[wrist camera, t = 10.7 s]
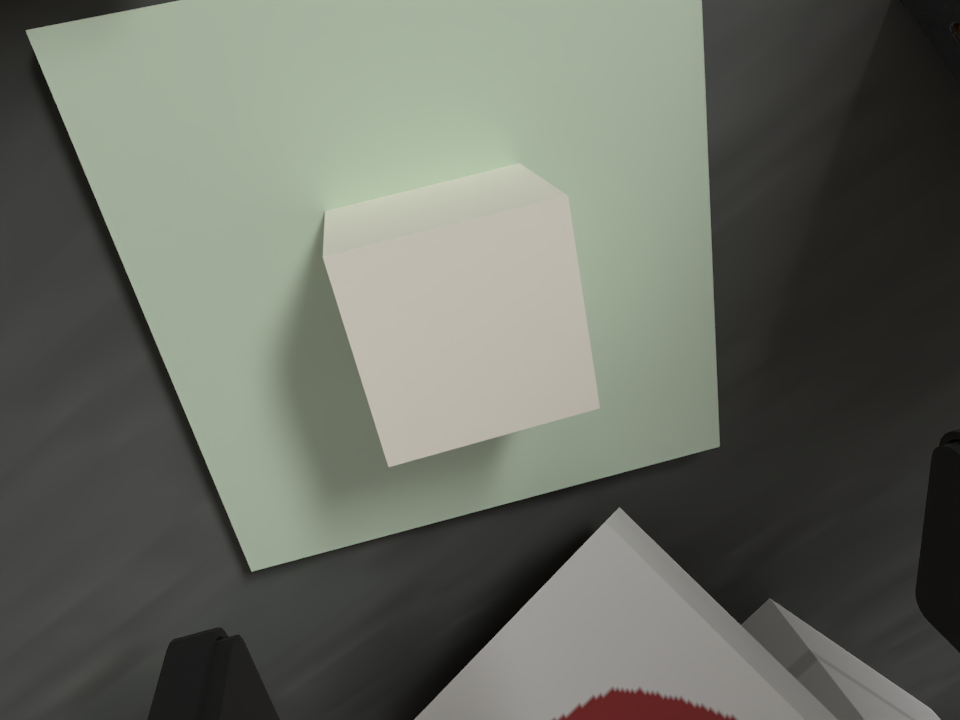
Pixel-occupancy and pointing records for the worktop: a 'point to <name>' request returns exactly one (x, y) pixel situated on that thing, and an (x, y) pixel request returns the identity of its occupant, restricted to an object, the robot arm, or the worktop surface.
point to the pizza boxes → (659, 652)
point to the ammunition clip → (940, 28)
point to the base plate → (378, 173)
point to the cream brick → (463, 310)
